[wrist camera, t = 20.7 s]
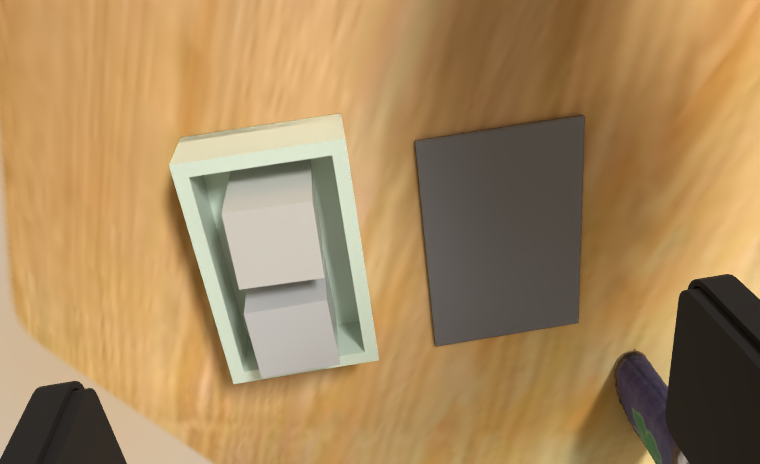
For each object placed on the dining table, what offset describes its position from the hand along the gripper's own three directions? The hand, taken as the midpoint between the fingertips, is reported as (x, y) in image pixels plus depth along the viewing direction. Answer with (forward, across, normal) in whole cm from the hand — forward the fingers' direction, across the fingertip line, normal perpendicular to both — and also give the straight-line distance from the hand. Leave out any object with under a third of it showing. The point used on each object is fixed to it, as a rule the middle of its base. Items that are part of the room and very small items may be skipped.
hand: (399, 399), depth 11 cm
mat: (+28, -9, +14) cm, 33 cm away
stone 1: (+28, +4, +9) cm, 29 cm away
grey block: (+28, +4, +15) cm, 32 cm away
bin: (+28, +4, +12) cm, 31 cm away
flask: (+28, -19, +30) cm, 46 cm away
